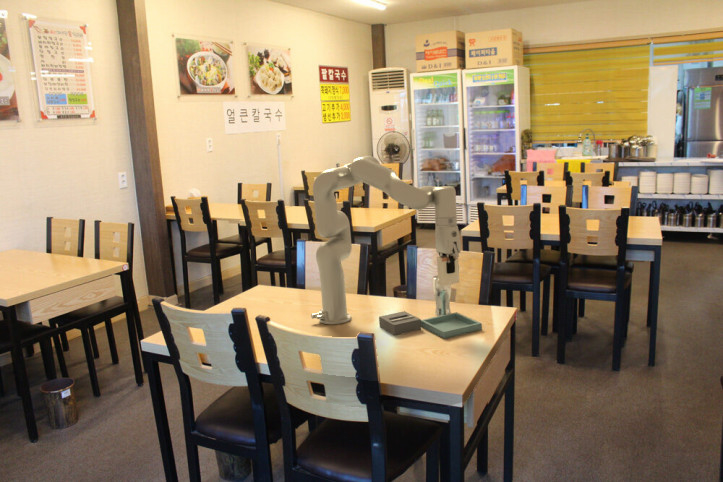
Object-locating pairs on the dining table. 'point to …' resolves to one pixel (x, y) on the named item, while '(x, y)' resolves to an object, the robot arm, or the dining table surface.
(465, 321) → the tray
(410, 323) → the block
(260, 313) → the dining table surface
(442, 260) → the cream rectangular block
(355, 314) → the dining table surface
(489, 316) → the dining table surface
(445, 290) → the beer glass
